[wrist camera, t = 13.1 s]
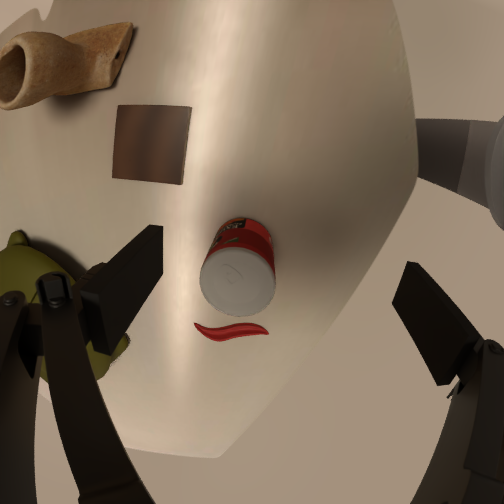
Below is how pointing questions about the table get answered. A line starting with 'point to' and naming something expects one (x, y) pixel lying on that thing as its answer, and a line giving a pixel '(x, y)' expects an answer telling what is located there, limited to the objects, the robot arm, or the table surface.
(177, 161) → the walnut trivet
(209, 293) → the canned food
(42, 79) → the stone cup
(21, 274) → the spaceship
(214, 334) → the cayenne pepper
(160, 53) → the table surface
